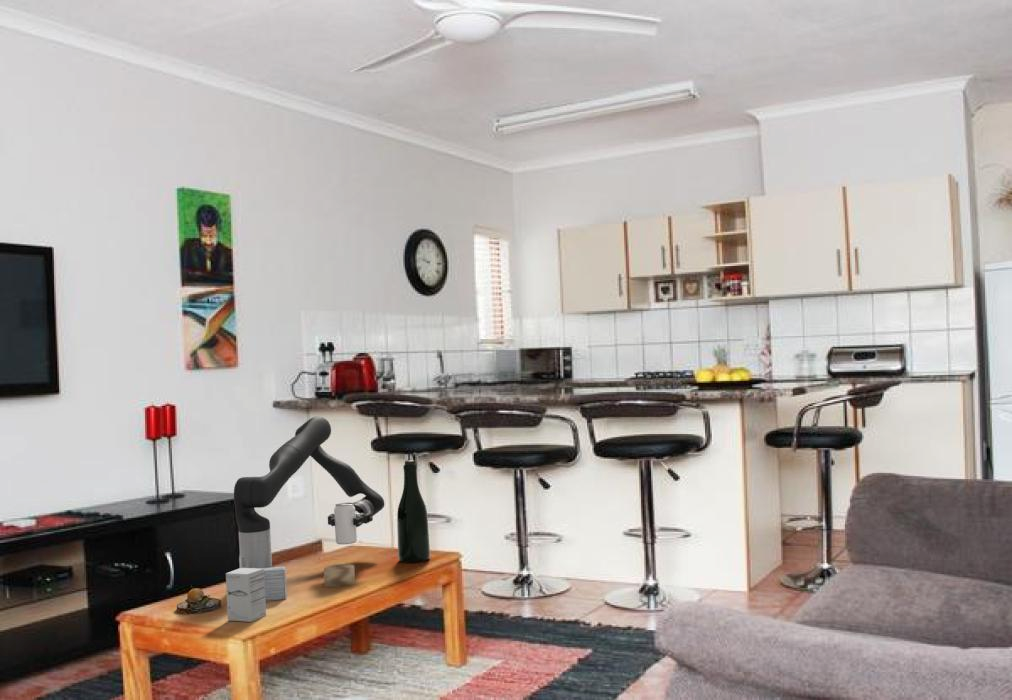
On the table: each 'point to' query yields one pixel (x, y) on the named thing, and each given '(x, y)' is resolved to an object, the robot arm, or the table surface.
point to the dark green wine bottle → (412, 520)
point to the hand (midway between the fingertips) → (343, 522)
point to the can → (345, 523)
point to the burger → (198, 603)
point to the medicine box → (275, 583)
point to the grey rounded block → (339, 575)
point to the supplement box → (245, 594)
